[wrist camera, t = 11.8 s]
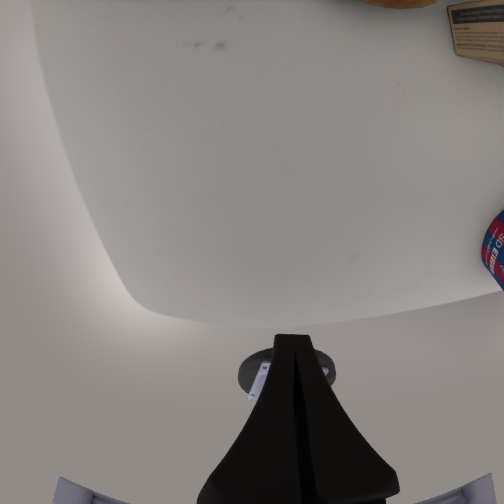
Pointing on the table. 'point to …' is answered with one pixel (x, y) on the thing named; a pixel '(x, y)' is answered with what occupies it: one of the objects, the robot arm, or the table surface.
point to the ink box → (479, 30)
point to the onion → (400, 3)
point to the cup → (495, 250)
